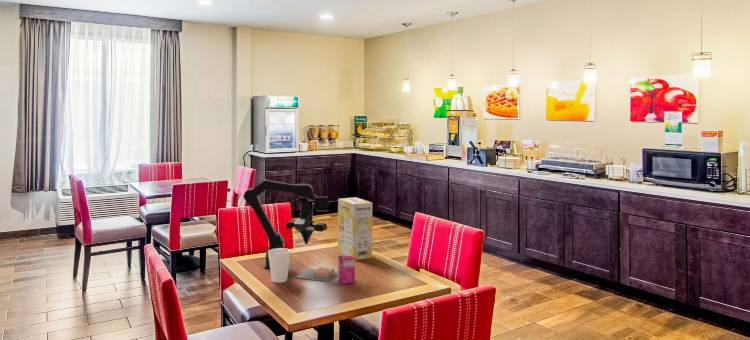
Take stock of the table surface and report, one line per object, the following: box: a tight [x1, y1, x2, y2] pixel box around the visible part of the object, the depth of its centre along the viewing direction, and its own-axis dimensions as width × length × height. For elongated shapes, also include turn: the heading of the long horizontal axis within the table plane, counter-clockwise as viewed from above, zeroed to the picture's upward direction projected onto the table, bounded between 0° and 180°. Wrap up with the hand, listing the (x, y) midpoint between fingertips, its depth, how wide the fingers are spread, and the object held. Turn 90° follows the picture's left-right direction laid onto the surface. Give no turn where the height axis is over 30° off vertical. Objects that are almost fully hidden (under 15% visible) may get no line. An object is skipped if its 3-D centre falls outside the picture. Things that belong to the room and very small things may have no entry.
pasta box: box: [337, 196, 373, 261], centre depth 273 cm, size 18×10×28 cm, turn 28°
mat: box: [295, 268, 338, 283], centre depth 238 cm, size 16×14×1 cm
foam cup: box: [268, 247, 291, 284], centre depth 230 cm, size 10×9×13 cm
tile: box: [314, 266, 335, 279], centre depth 237 cm, size 2×8×6 cm
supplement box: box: [337, 254, 356, 286], centre depth 229 cm, size 6×6×12 cm
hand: (306, 244), depth 250 cm, fingers closed
